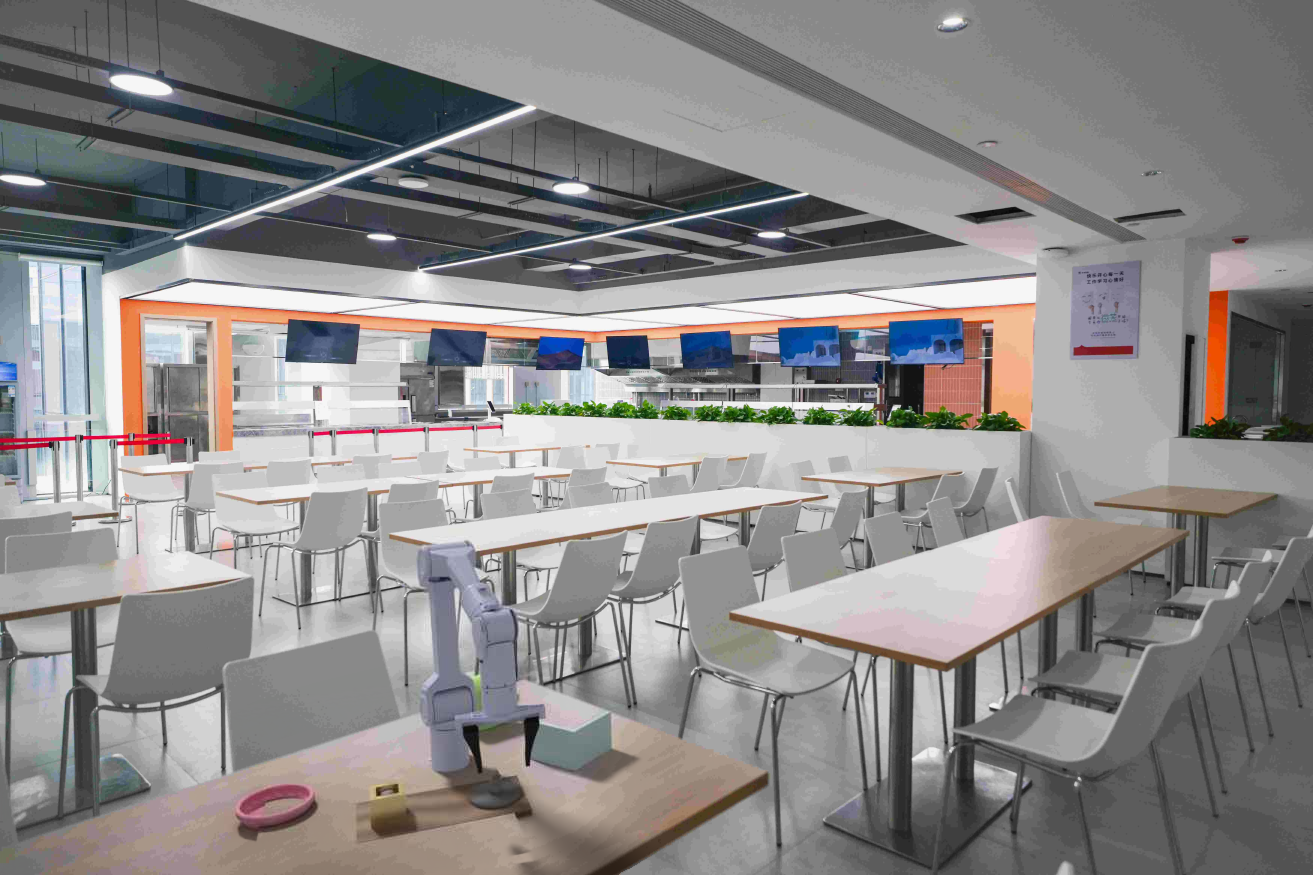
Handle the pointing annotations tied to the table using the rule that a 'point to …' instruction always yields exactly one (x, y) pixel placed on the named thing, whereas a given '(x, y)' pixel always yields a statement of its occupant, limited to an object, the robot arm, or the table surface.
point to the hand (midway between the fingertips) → (504, 767)
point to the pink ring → (254, 803)
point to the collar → (387, 804)
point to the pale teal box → (573, 742)
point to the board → (449, 807)
